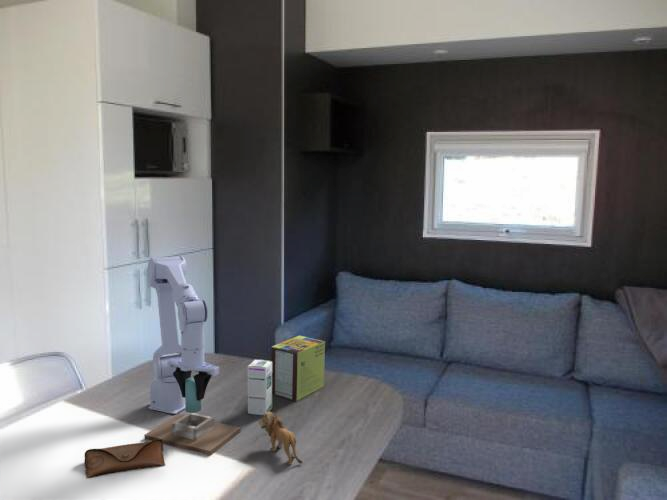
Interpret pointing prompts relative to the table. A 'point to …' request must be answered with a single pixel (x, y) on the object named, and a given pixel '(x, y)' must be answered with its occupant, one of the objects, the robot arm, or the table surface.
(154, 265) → the robot arm
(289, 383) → the protein box
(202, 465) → the table surface
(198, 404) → the peg
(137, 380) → the table surface
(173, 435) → the socket board
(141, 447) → the sunglasses case
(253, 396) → the syrup box
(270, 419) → the lion figurine
